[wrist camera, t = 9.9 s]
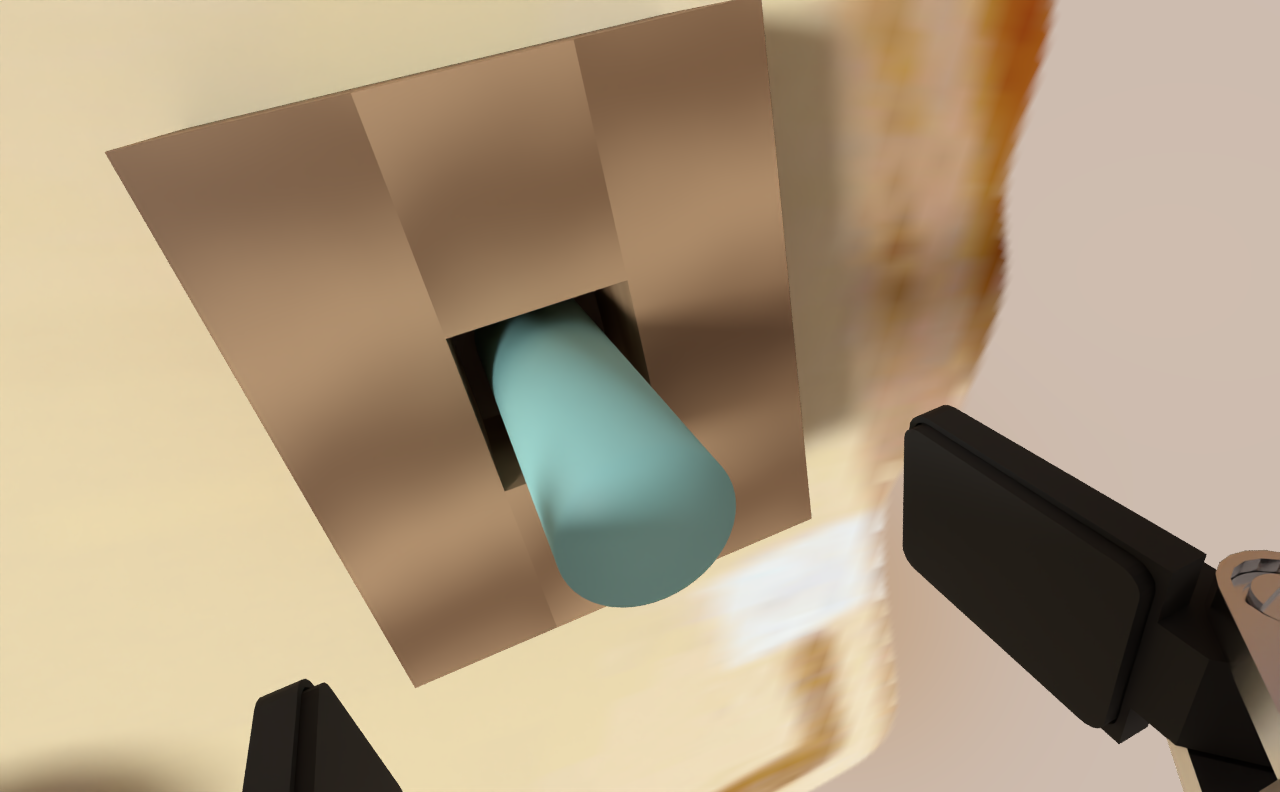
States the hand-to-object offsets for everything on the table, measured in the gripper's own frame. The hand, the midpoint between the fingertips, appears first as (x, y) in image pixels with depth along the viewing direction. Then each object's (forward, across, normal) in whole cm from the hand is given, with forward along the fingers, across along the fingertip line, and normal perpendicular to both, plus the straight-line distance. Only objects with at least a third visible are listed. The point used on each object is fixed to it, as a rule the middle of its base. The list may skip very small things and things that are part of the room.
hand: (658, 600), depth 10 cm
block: (+15, -1, +1) cm, 15 cm away
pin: (+13, -1, +1) cm, 13 cm away
